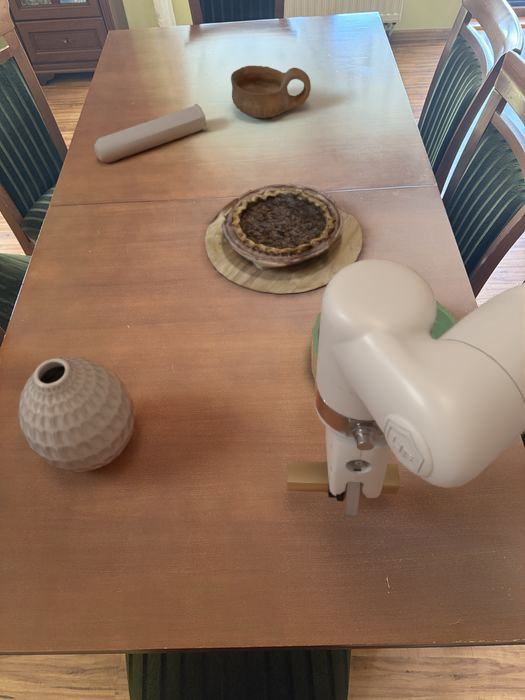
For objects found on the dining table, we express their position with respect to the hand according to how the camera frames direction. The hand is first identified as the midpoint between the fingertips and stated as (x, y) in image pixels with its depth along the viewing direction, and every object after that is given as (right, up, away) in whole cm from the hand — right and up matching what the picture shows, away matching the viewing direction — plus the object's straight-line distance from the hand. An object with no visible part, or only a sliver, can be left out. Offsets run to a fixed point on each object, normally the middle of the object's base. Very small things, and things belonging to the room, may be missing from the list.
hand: (342, 480), depth 57 cm
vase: (-31, +2, +12) cm, 33 cm away
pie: (-5, +34, +35) cm, 49 cm away
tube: (-33, +60, +56) cm, 89 cm away
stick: (0, 0, 0) cm, 0 cm away
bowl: (-7, +71, +63) cm, 95 cm away
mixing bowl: (+8, +12, +17) cm, 23 cm away
